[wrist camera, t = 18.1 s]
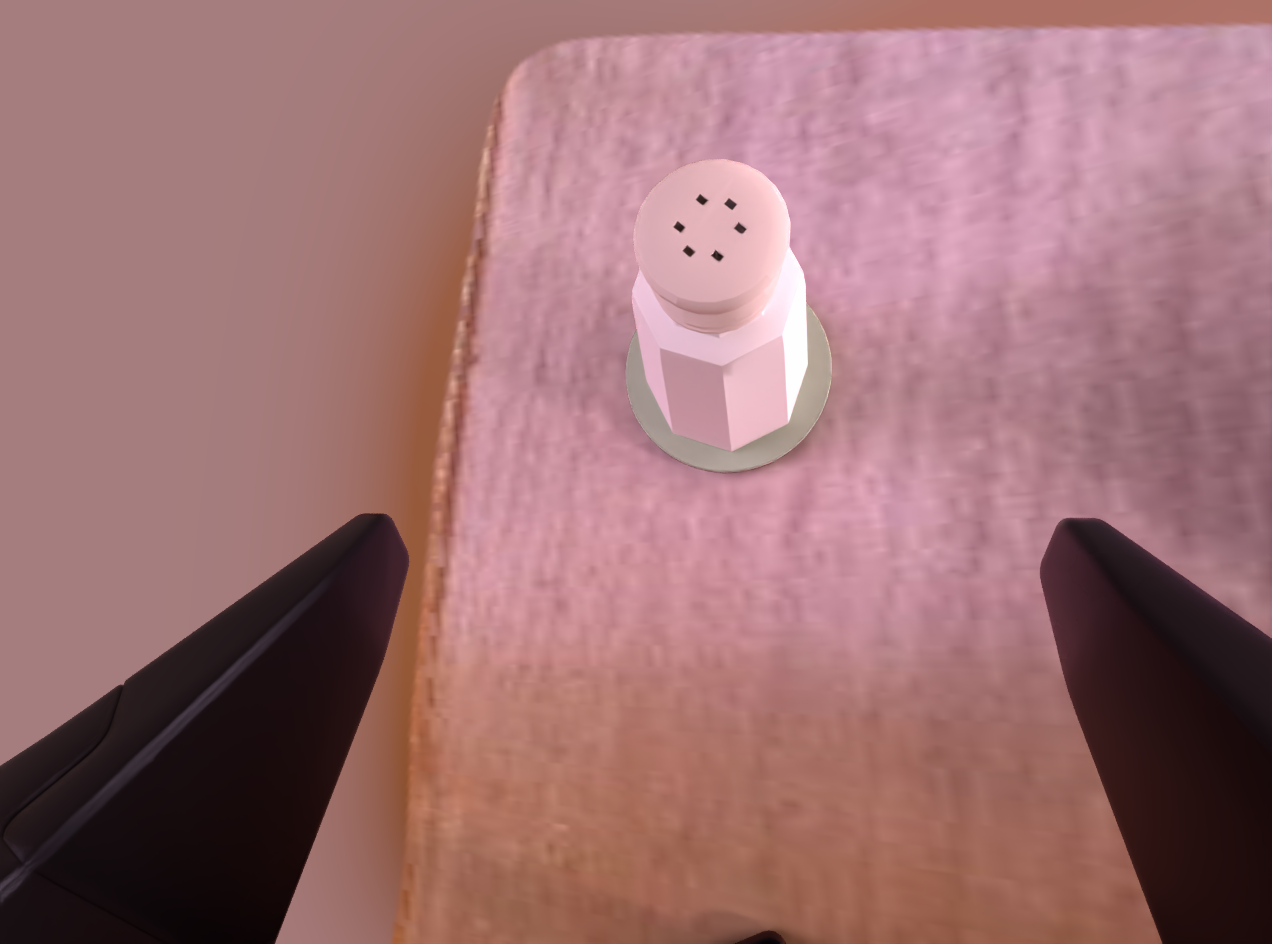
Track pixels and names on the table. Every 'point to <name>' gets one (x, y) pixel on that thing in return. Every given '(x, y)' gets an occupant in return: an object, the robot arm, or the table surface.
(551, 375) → the table surface
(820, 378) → the coaster
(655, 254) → the pepper shaker
